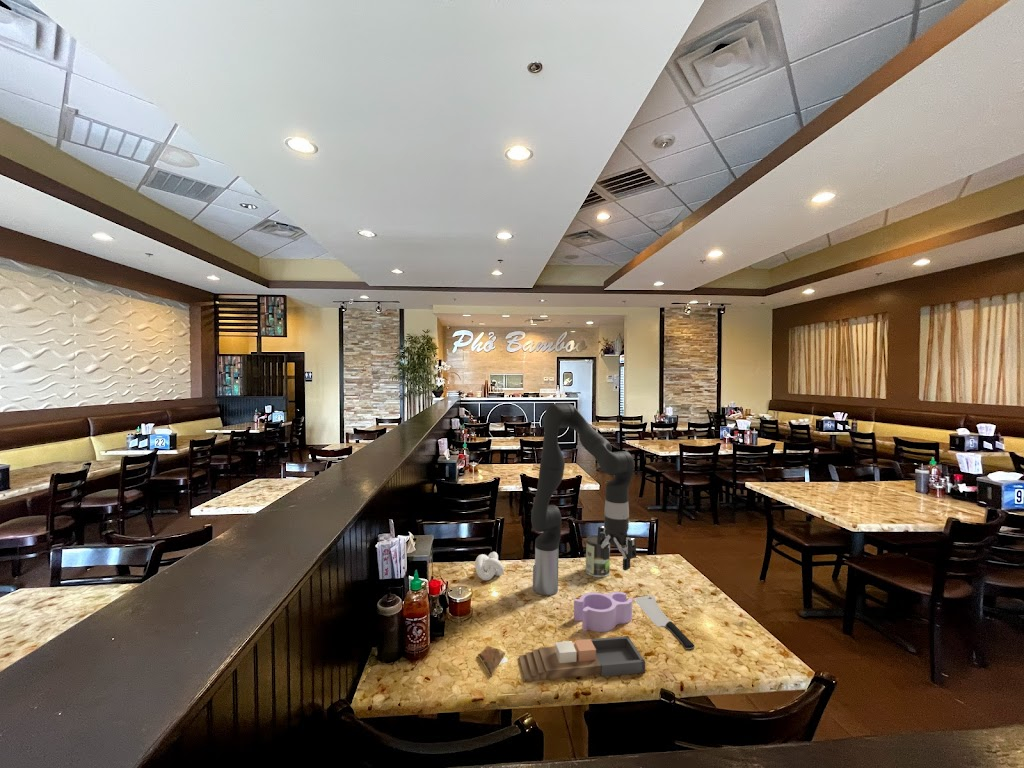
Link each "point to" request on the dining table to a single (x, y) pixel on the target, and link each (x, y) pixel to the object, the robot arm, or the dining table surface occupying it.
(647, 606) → the kitchen cleaver
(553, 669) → the board
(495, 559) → the white knot
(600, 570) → the coffee can
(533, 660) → the brown stairs
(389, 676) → the dining table surface
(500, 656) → the shard
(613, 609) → the purple double cup holder
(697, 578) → the dining table surface
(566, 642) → the tile cream
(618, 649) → the box
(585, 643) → the tile terracotta
